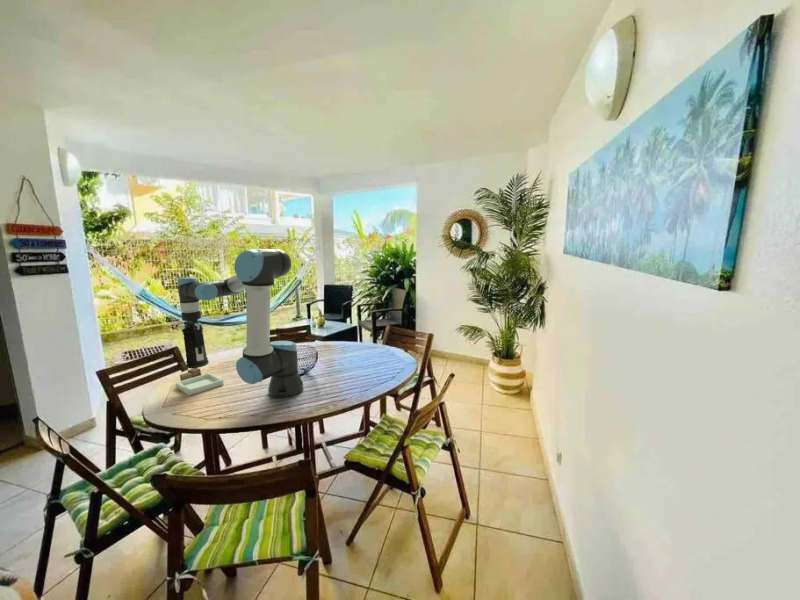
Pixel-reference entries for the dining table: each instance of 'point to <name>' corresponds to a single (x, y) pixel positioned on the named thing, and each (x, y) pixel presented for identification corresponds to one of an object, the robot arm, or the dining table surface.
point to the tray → (199, 384)
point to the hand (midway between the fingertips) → (196, 358)
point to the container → (193, 349)
